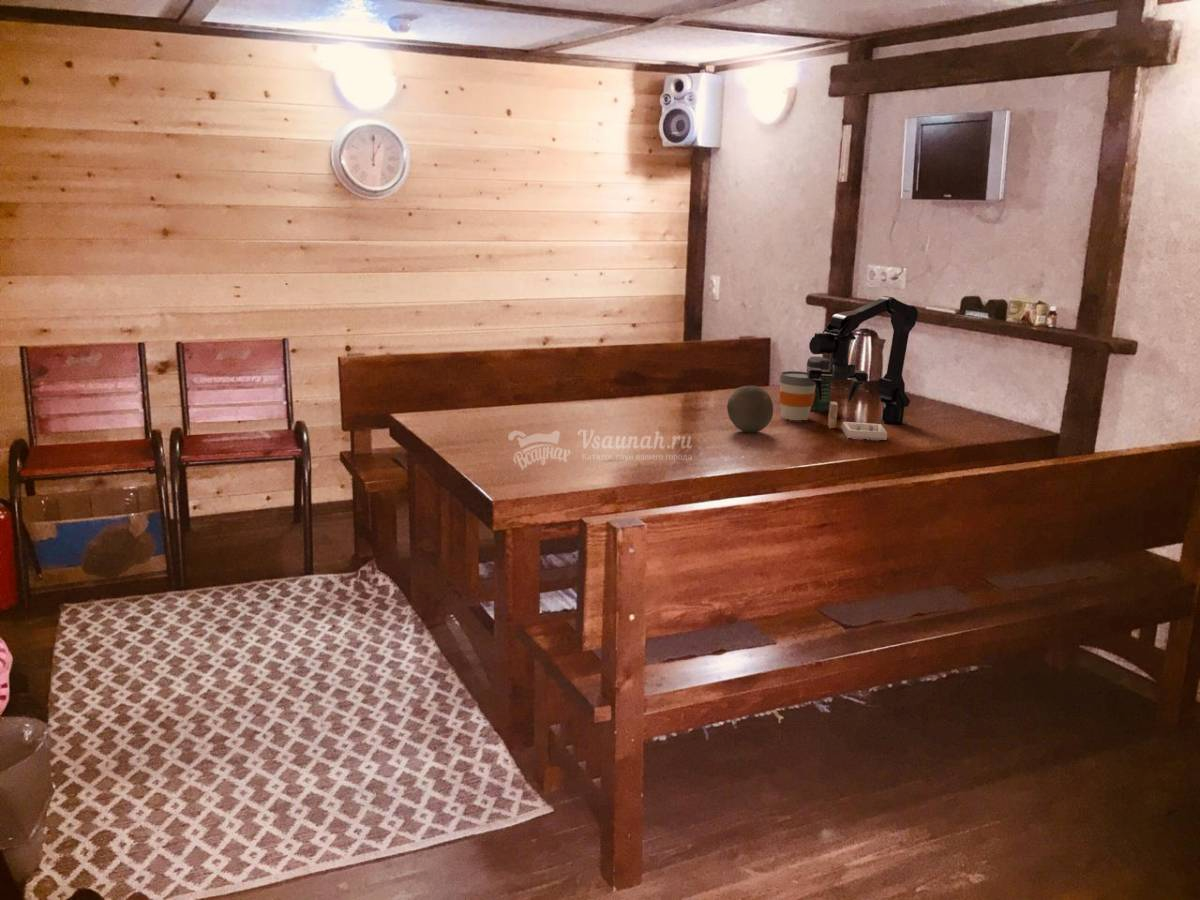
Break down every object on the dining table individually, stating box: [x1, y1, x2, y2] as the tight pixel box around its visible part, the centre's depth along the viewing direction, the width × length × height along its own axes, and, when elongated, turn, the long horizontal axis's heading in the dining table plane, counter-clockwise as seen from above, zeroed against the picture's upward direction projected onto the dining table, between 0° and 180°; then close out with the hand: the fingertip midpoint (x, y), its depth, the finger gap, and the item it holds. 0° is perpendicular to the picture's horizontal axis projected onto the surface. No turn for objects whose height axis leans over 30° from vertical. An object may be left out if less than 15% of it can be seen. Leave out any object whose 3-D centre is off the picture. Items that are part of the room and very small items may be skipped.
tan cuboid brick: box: [827, 401, 839, 429], centre depth 324 cm, size 2×4×8 cm, turn 175°
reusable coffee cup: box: [778, 370, 816, 421], centre depth 334 cm, size 13×13×15 cm
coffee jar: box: [806, 356, 833, 412], centre depth 349 cm, size 10×8×19 cm
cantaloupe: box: [726, 385, 774, 434], centre depth 310 cm, size 14×14×15 cm
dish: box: [841, 421, 888, 441], centre depth 315 cm, size 12×12×3 cm
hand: (834, 400), depth 323 cm, fingers open, 9 cm apart
